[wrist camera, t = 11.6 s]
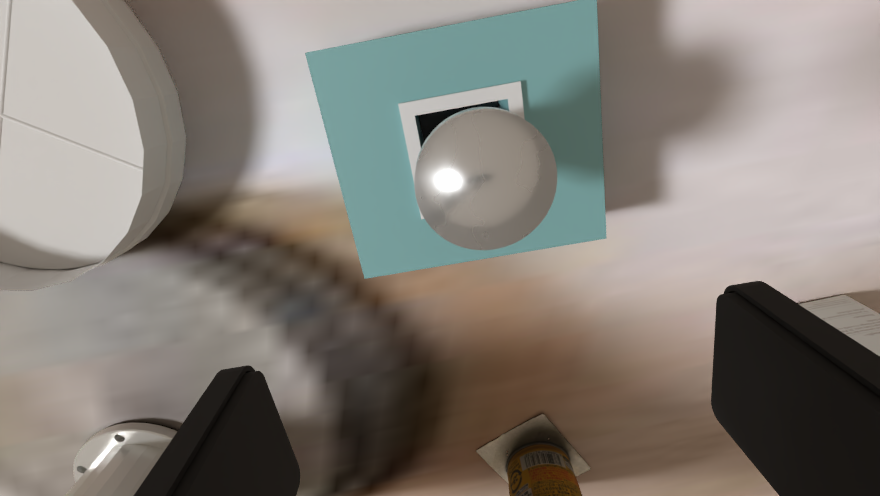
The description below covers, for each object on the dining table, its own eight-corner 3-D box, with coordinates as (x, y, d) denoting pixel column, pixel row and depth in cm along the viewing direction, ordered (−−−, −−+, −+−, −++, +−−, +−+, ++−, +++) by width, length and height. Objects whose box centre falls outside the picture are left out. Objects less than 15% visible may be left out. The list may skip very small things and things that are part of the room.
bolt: (517, 178, 33) (562, 238, 22) (429, 193, 33) (428, 260, 22) (507, 84, 30) (551, 97, 19) (412, 102, 31) (401, 124, 19)
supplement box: (750, 382, 40) (883, 515, 28) (754, 309, 37) (902, 423, 25) (838, 366, 39) (1010, 495, 28) (848, 291, 37) (1044, 399, 25)
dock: (584, 216, 34) (608, 240, 29) (372, 252, 35) (363, 280, 30) (572, 6, 29) (598, -4, 24) (322, 54, 29) (303, 52, 25)
